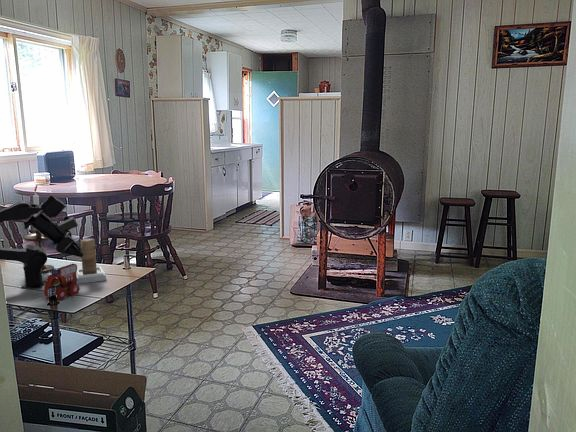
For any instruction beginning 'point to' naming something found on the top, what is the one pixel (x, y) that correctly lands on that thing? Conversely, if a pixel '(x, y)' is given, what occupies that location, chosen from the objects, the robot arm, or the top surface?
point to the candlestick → (38, 237)
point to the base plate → (90, 276)
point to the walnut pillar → (88, 256)
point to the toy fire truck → (63, 281)
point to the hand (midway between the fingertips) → (81, 253)
